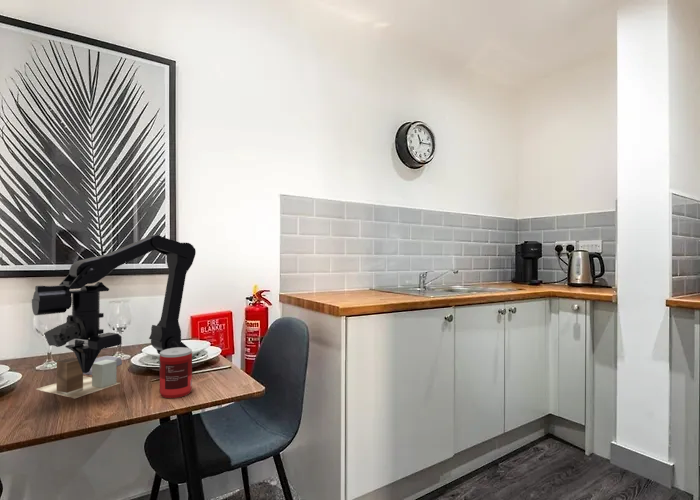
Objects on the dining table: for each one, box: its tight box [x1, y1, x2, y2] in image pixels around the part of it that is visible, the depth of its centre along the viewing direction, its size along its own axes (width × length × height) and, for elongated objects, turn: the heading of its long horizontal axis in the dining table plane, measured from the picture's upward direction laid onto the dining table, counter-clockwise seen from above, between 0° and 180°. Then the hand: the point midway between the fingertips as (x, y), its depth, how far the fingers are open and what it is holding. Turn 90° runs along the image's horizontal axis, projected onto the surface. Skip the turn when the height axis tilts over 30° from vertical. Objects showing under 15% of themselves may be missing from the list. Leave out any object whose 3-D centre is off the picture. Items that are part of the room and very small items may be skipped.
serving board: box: [35, 375, 121, 399], centre depth 104 cm, size 16×12×1 cm
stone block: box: [83, 355, 123, 376], centre depth 119 cm, size 12×5×10 cm
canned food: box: [159, 347, 193, 399], centre depth 101 cm, size 8×8×11 cm
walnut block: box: [56, 357, 84, 395], centre depth 100 cm, size 4×4×8 cm
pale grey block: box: [91, 359, 117, 388], centre depth 105 cm, size 4×4×6 cm
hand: (85, 372), depth 97 cm, fingers closed
